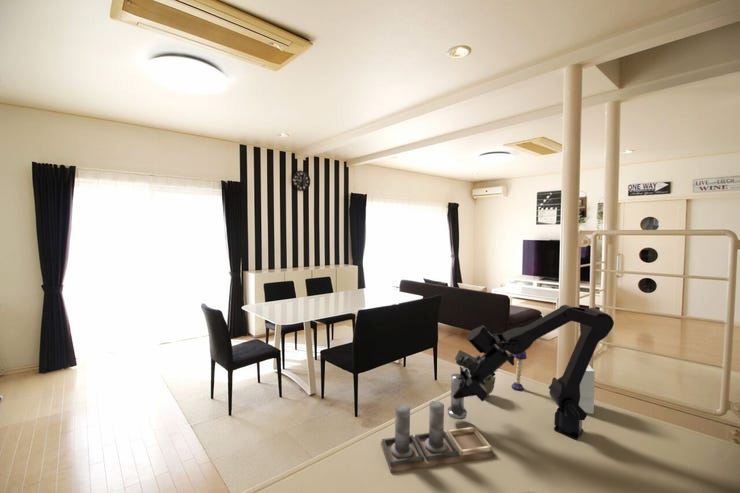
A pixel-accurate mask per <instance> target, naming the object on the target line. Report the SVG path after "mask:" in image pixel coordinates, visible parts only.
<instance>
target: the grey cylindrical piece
mask: <svg viewBox="0 0 740 493" xmlns="http://www.w3.org/2000/svg"><path fill="white" fill-rule="evenodd" d="M463 378H464V376H463V375H461V374H460V373H452V374H451V381H450V382H451V383H450V388H451V389H450V406H449V407H447V416H449V417H450V418H452V419H455V420H458V421H459V420H464V419H467V416H468V415H467V414H468V412H467V409H466V408H465V397H463V398H458V399H455V398H454V397H453V395H454V394H455V393H456V392H457V390H458V389H459V388H460V387H461V386H462V385H463Z"/></svg>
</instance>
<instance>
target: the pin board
mask: <svg viewBox="0 0 740 493" xmlns="http://www.w3.org/2000/svg"><path fill="white" fill-rule="evenodd" d="M394 408H395V411H394V412H395V414H394V415H395V417H394V422H395V423H394V437H388V438H382V439H381V440H380V446H381V447H380V448H381V449H382V452H383V455H384V458H385V461H386V464H387V466H388V469H389V472H390V473H399V472H404V471H411V470H416V469H417V470H418V469H422V468H423V469H424V468H429V467H435V466H443V465H449V464H456V463H461V462H467V461H468V462H469V461H474V460H480V459H487V458H492V457H493V458H494V457H495V456H494V455H495V453H494V451H493V450H492V449H493V448H492V445H490V443H489V442H488V441H487V439H486V438H485V437H484V436H483V435H482V433H481V432H480V431H479V430H478V429H477V427H476V426H468V427H462V428H455V429H447V430H446V431H445V428H444V426H445V425H444V423H445V404H444V403H443V402H442V401H438V400H434V401H430V402H429V411H428V413H429V415H428V416H429V419H428V423H429V424H428V432H425V433H418V434H415V435H414V436H413V434H410V433H411V432H410V431H411V430H410V429H411V427H410V426H411V408H410V406H408V405H406V404H399V405H396V406H395V407H394Z"/></svg>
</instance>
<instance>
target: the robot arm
mask: <svg viewBox="0 0 740 493" xmlns="http://www.w3.org/2000/svg"><path fill="white" fill-rule="evenodd" d="M570 322H574V323H577V324H579V331H580V332H579V337H578V339H577V342H576V344H575V346H574V348H573V351H572V353H571V356H570V357H569V361H568V363H567V365H566V367H565V369H564V372H563V374H562V376H560V377H559V378H556V377H552V379H551V380H552V381H551V383H550V385H549V386H548V389H549V393H548V394H549V396H550V398H551V399H552V400H553V402H554V403H555V405H557V407H558V408H556V411H555V412H554V420H553V421H554V422H553V423H554V424H553V425H554V427H553V430H554V432H555V431H556V432H558V433H560V434H562V435H564V436H568V437H569V438H571V439H574V440H579V438H580V436H581V435H582V434H583V432H584V429H583V421H585V420H586V418H587V415H588V413H586V412H585V411H584V410H583V409H582V408H581V407H580V406H579V401H580V383H581V381H582V379H583V376H584V374H585V372H586V369H587V367H588V365H590V363H591V360H592V357H593V356H594V353H595V351H596V348H597V346H598V344H599V342H601V341H602V340H604V339H605V338H606V337H608V335H609V334H610V332H611V330H613V328H614V324H615V322H614V319H613V317H612V316H611V315H609V314H608V313H605V311H602V310H600V309H597V308H595V307H589V308H582V307H578V306H571V305H568V304H564V305H560V306H559V307H558V308H557V309H555V310H553V311H551V312H549V313H547V314H545V315H544V316H542V317H540V318H538V319H536V320H534V321H532V322H531V323H529V324H527V325H525V326H520V327H519V326H518V327H514V328H510V329H508V330H506V331H504V332H502V333H490V331H489V330H488V329H487V328H486V326H484V325H483V324H482V325H481V326H478V327H476V328H473V329H472V330H471V331H470V332H469V333H468V334H467V336H466V341H468V343H470V345H471V346H472V347H473V348H475V350H477V352H479V353H480V354H483V355H480V354H479V355H476V356H472V355H471V354H469V353H467V352H465V351H463V350H461V349H459V350H458V351H457V354H456V356H455V358H454V359H455V363H456V364H457V365H458V366H459V374H461V375H463V376H464V378H463V385H462V386H461V387H460V388H459V389H458V390H457V392H456V393H455V394H454V395H453V397H454V398H455V399H458V398H463V397H464V398H467V397H475V396H476V397H477V398H478V399H479V400H480V401H481V402H484V401H486V399H487V398H488V397H487V396H488V393H487V391H486V388H485V387H484V386H483V385H484V384H485V381H484V380H486V379H487V378H488V377H489V376H490V375H492V376H493V377H496V373H495V372H496V371H497V370H499V369H500V368H501V367H502V366H503V365H504V364H506V363H507V362H508V363H509V365H511V366H515V357H514V355H519V354H522V353H523V352H524V351H527V350H528V349H529V348H531V346H532V345H533V344H534V342H535V341H536V340H538V339H540V338H542V337H544V336H546V335H547V334H549V333H551V332H553V331H555V330H557V329H559V328H561V327H562V326H564V325H566V324H569V323H570ZM507 351H508V352H507ZM513 354H514V355H513Z"/></svg>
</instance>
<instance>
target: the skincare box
mask: <svg viewBox="0 0 740 493" xmlns="http://www.w3.org/2000/svg"><path fill="white" fill-rule="evenodd" d="M595 372H596V371H595V370H594V369H593V367H591V366H590V364H589V365H588V367H587V369H586V372H585V374H584V376H583V379H582V381H581V383H580V401H579V406H580V407H581V408H582V409H583V410H584V411H585V412H586V413H587V414H589V415H594V412H595V411H594V410H595V374H596V373H595Z"/></svg>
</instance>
